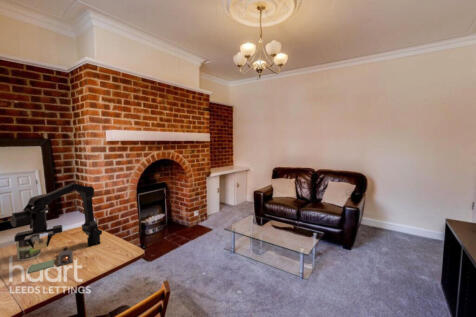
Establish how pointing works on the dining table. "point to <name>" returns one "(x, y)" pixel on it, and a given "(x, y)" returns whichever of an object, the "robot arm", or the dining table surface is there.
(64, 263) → the body
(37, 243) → the tan rectangular block
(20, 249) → the coffee can
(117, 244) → the dining table surface
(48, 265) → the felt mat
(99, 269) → the dining table surface
